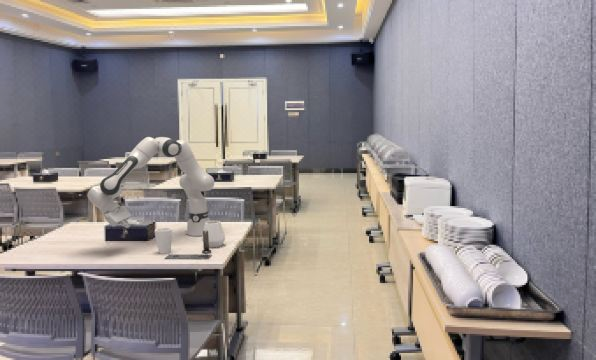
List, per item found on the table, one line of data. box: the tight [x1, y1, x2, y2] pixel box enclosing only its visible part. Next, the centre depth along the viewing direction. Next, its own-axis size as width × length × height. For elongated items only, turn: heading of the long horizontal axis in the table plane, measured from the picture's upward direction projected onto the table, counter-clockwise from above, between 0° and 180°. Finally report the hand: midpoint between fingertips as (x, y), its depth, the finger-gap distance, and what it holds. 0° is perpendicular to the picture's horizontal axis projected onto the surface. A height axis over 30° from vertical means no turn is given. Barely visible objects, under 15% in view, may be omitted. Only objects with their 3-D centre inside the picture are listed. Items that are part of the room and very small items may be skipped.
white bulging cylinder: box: [201, 220, 226, 249], centre depth 303 cm, size 13×13×14 cm
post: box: [201, 231, 212, 255], centre depth 288 cm, size 5×5×12 cm
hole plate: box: [164, 253, 213, 260], centre depth 280 cm, size 7×24×1 cm, turn 83°
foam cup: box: [154, 227, 173, 255], centre depth 291 cm, size 10×9×13 cm
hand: (128, 226), depth 293 cm, fingers closed
